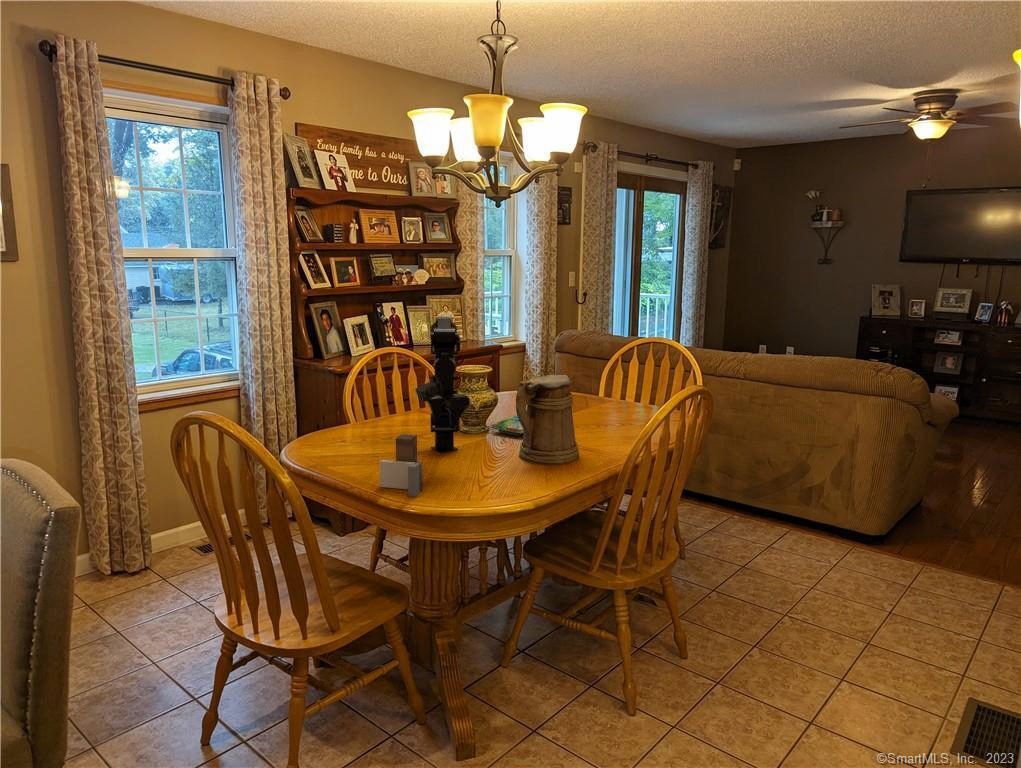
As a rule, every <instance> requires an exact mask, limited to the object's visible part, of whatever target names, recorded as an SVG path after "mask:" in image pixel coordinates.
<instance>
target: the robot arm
mask: <svg viewBox="0 0 1021 768" xmlns="http://www.w3.org/2000/svg"><path fill="white" fill-rule="evenodd" d="M459 352H461V337H460V335H459V332H458V326H457V325H456V324H455V323H454V322H453V317H451V316H438V317H436V318H435V321H434V323H433V324H432V325H430V355H435V356H433V357H434V367H433V369H434V370H433V371H434V375H431V377H430V381H429V382H426V383H424V384H421V385H420V386H418V387H416V388H415V392H416V395H417V398H418V400H421V401H423V402H425V403H427V404H428V406H429V408H430V411H431V412H430V433H434V445H433V446H430V449H431V450H433V451H435V452H437V453H440V454H444V453H450V452H454V451H458V450H459V448H457V447H455V445H454V444H455V443H454V442H455V440H454V439H455V438H454V437H455V436H454V433H458V432H460V426H461V425H460V423H461V416H462V415H463V413H464V411H465V410H466V409H467V408H468V407H469V406H471V398H470V397H469V396H468V395H466V394H462V393H458V389H455V386H456V385H455V381H457V380H458V376H457V375H456V374H455V372H456V364H455V363H456V362H455V359H456V358H455V357H456V356H454V355H459Z"/></svg>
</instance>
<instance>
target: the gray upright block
mask: <svg viewBox="0 0 1021 768" xmlns="http://www.w3.org/2000/svg"><path fill="white" fill-rule="evenodd" d="M420 491H421V490H420V484H419V464H418V463H411V464H410V465H409V466H408V489H407V497H412V498H413V497H414V498H416V497H417V496H419V494H420V493H421V492H420Z"/></svg>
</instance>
